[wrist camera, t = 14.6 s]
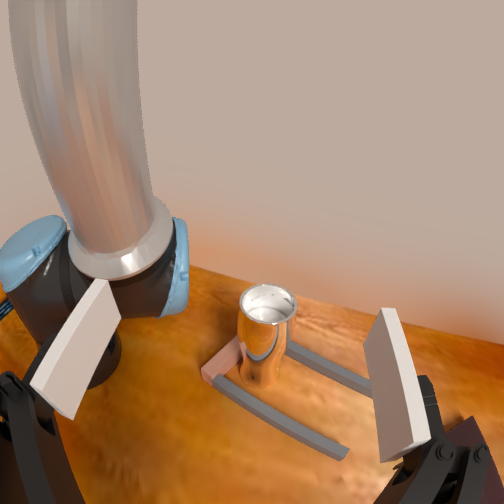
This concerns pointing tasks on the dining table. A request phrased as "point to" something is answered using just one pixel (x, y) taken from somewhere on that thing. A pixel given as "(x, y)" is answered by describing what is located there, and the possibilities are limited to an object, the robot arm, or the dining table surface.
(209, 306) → the dining table surface
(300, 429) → the guide channel
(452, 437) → the book
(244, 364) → the shiny metal tumbler
